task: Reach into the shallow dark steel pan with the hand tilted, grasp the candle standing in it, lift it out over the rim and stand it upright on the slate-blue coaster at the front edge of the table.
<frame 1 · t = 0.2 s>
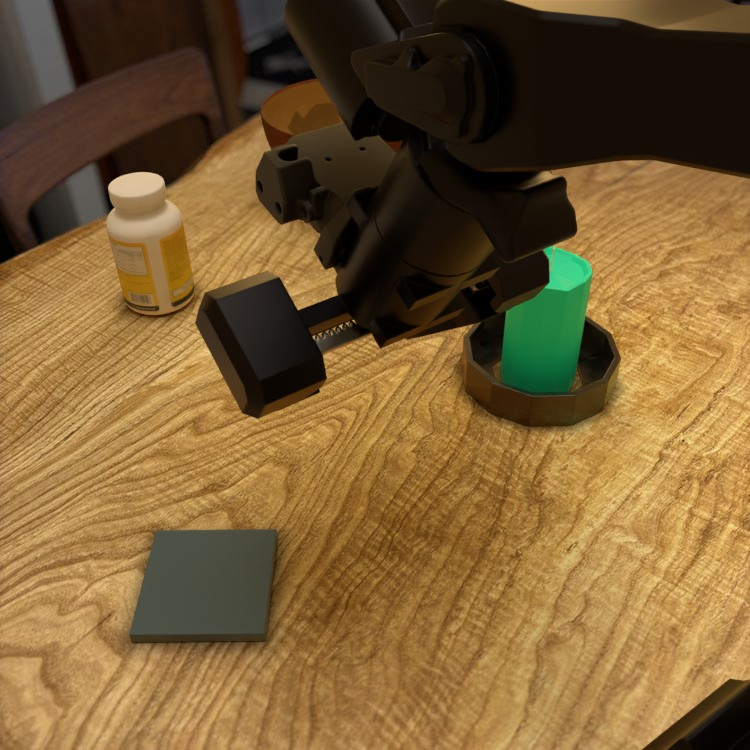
hand: (342, 358, 51), 13 cm above the table, tool tilted 35°, fingers open, 9 cm apart
candle: (536, 378, 70), resting in pan
pill bottle: (161, 300, 79), on the table
pan: (536, 376, 69), on the table
cloth: (462, 122, 110), on the table
bowl: (348, 195, 95), on the table
coaster: (208, 586, 54), on the table
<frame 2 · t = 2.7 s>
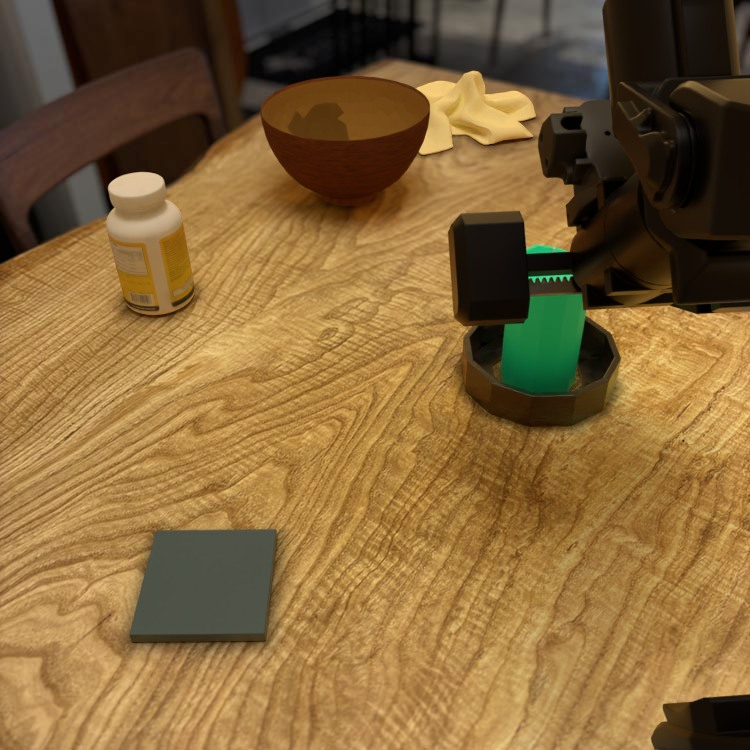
hand: (574, 291, 57), 12 cm above the table, tool tilted 45°, fingers open, 9 cm apart
nothing on the table moved.
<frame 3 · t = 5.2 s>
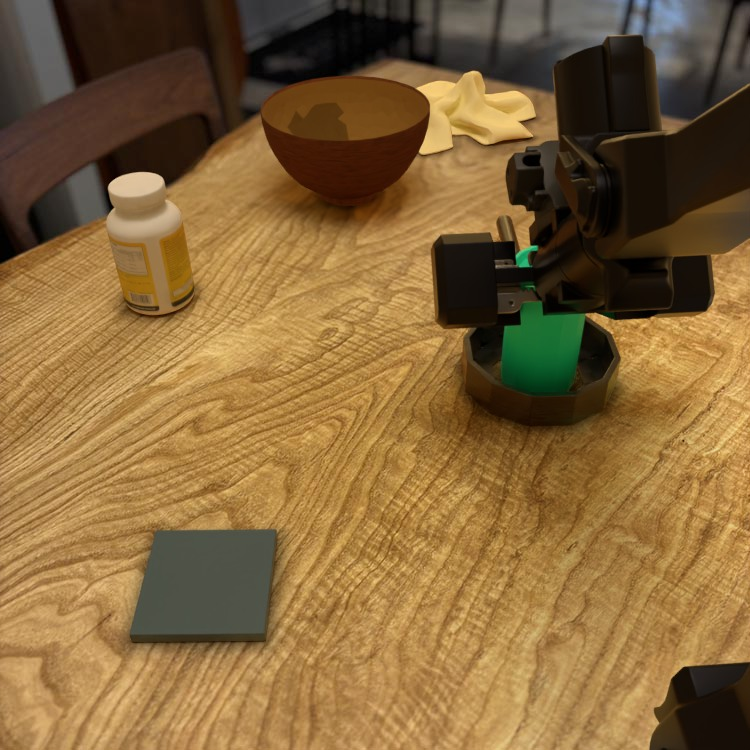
hand: (542, 299, 66), 7 cm above the table, tool tilted 45°, fingers closed on candle, 5 cm apart
candle: (536, 378, 70), resting in pan, touching gripper
everything else where it was.
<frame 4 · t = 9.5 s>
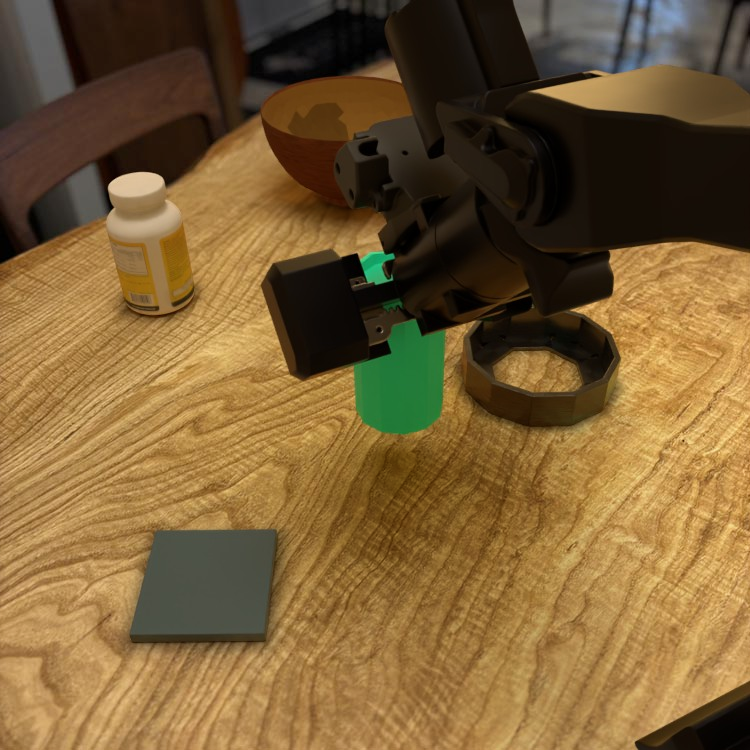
hand: (389, 315, 55), 12 cm above the table, tool tilted 45°, fingers closed on candle, 5 cm apart
candle: (399, 407, 58), point 5 cm above the table, touching gripper
everything else where it was.
when the fingers open (7 cm above the table, at t = 14.2 s): candle stays where it is, resting on coaster.
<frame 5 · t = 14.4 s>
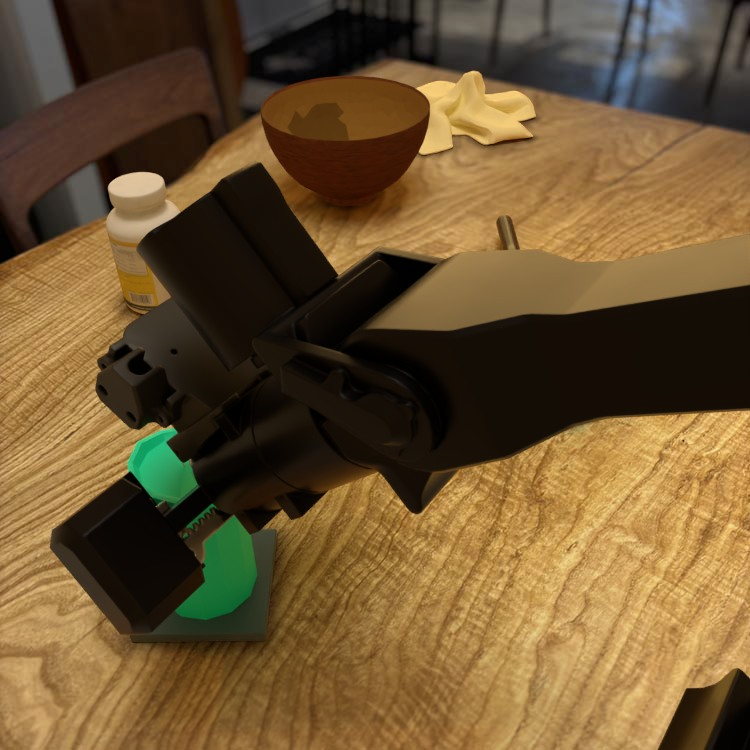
hand: (173, 495, 50), 7 cm above the table, tool tilted 45°, fingers open, 7 cm apart
candle: (209, 581, 53), point 1 cm above the table, touching coaster
everything else where it was.
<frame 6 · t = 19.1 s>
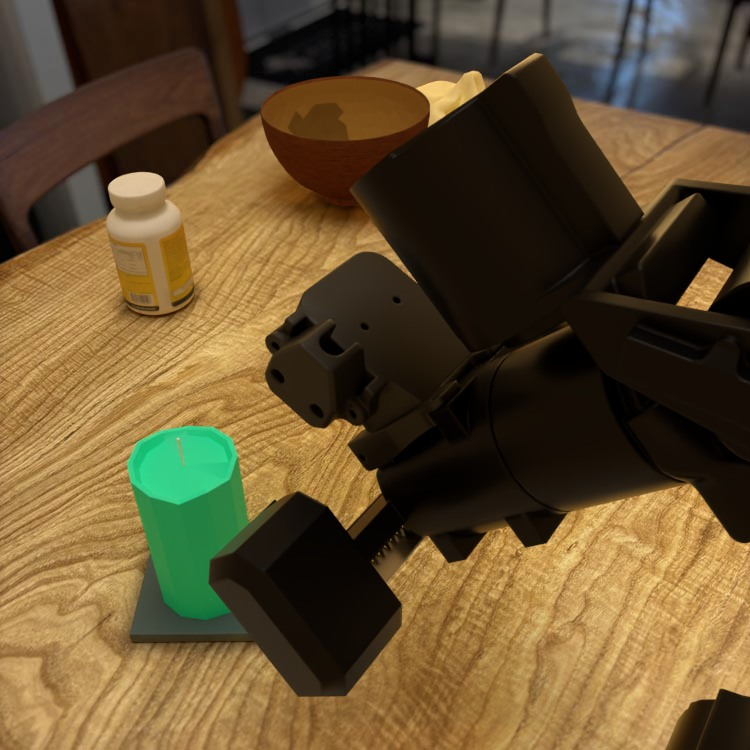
hand: (314, 509, 41), 14 cm above the table, tool tilted 45°, fingers open, 9 cm apart
nothing on the table moved.
at the end: candle inside the target area on the coaster (0.2 cm from its centre), point 0.6 cm above the coaster's base; candle tilted 0°; candle touching coaster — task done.
